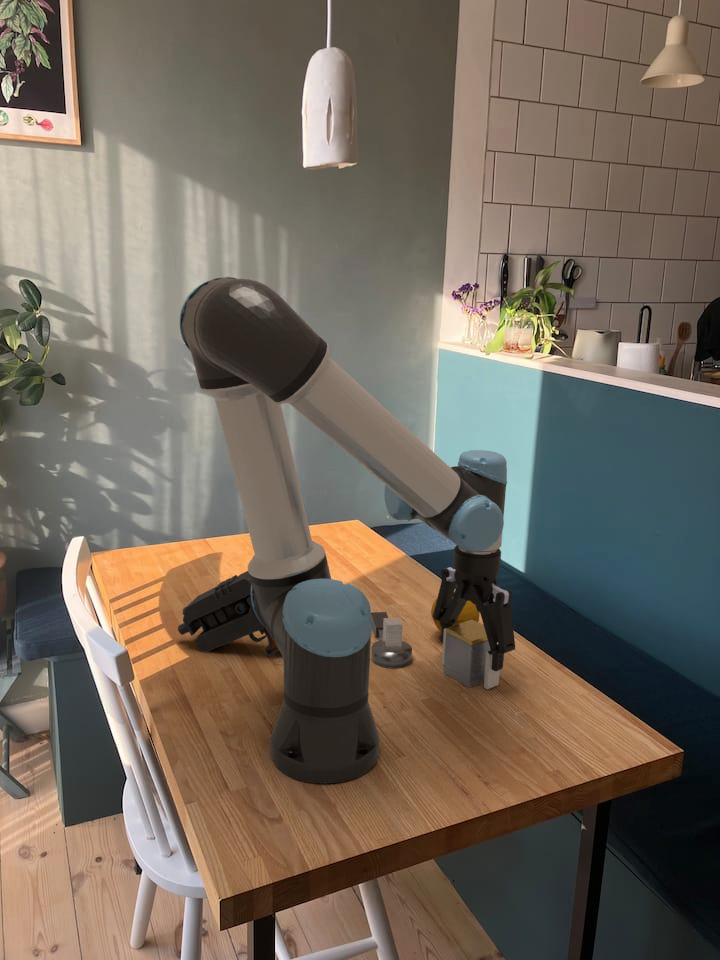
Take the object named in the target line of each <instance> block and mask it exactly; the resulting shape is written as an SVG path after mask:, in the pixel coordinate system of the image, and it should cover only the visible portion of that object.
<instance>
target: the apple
mask: <svg viewBox="0 0 720 960" xmlns="http://www.w3.org/2000/svg"><path fill="white" fill-rule="evenodd" d="M452 599H453V598H452ZM436 601H437V598H436V599H435V600H434V602H433V604H432V607H431V609H430V615H431V618H432V620H433V622H434V624H435V627H436V628H437V629H438V631H439V633H440V634H441V632H442V627H441V625H440V622H439V621H438V620H434V618H433V613H434V609H435V605H436ZM480 615H481V614H480V612H478V611H477V608H476V605H475V604H473V603H472V602H471V601H467V602H466V604H465V606H464V608H463V609H462V611H461V613H460V615H459V617H458V618H457V620H456V622H458V623H455V624H453V625H456V624H460V623H463V622H466V621H469V620H474V621H476V622H478V623H480Z"/></svg>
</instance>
